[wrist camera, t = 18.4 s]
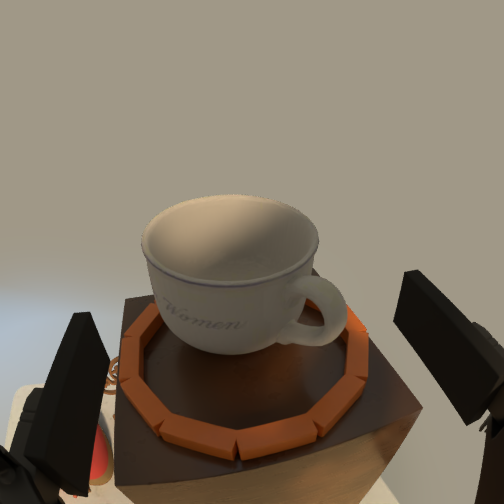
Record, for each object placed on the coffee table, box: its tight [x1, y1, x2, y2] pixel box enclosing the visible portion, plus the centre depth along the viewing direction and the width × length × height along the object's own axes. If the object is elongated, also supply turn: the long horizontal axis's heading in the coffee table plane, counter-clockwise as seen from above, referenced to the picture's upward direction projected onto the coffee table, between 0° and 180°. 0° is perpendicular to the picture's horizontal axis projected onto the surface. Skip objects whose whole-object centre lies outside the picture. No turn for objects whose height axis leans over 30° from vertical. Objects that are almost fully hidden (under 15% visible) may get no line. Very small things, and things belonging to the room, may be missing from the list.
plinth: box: [114, 268, 423, 504], centre depth 27 cm, size 18×18×22 cm
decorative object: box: [73, 424, 114, 498], centre depth 31 cm, size 14×4×15 cm
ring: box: [119, 298, 368, 461], centre depth 21 cm, size 17×17×1 cm
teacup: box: [141, 195, 348, 355], centre depth 21 cm, size 14×11×8 cm
